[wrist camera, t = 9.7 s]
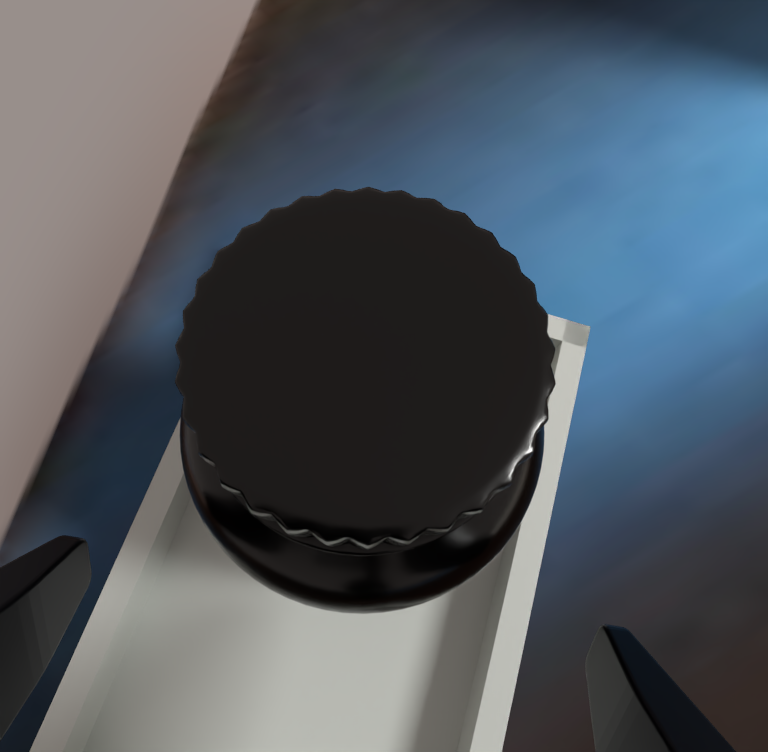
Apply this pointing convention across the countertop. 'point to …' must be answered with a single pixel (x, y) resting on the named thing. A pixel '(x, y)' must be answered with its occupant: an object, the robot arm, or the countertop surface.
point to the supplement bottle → (363, 399)
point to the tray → (299, 639)
